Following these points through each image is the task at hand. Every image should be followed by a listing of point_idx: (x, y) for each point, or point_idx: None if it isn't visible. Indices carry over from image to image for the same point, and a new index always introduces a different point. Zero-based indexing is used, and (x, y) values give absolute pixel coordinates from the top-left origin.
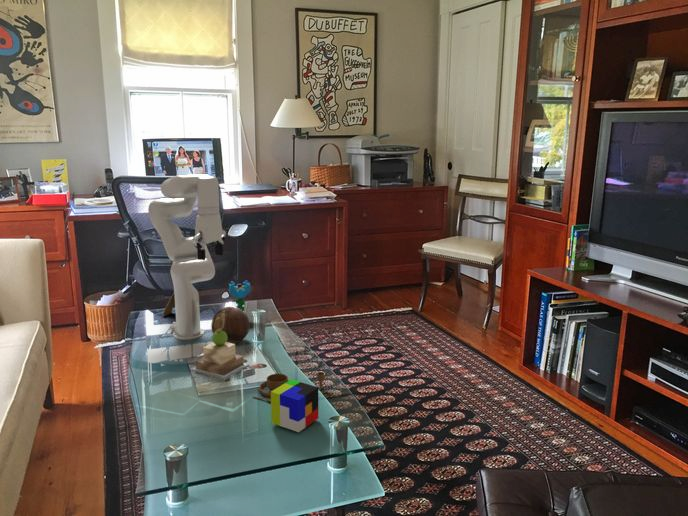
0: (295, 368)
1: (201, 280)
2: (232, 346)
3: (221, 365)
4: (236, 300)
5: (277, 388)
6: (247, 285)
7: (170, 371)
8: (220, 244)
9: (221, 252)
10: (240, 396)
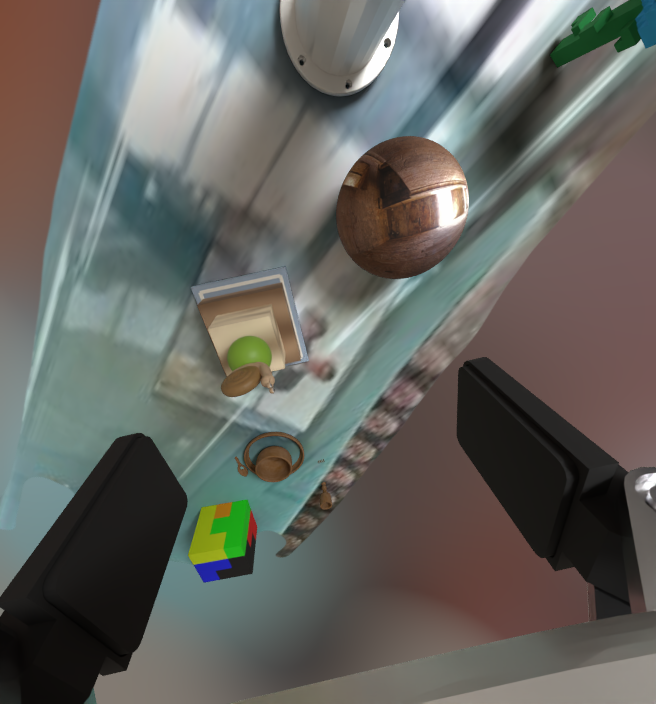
0: (356, 419)
1: None
2: (274, 369)
3: None
4: None
5: (202, 553)
6: None
7: (151, 250)
8: (574, 551)
9: (474, 464)
10: (213, 436)
